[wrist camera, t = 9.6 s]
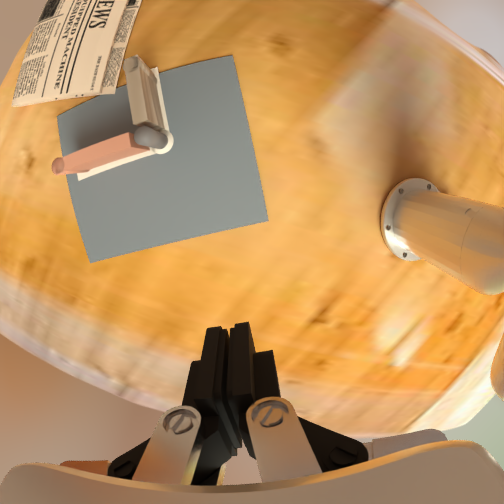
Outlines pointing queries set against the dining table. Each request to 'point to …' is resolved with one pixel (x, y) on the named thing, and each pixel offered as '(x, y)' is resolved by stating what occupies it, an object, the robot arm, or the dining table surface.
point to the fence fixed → (143, 94)
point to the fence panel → (110, 151)
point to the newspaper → (75, 50)
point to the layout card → (167, 164)
